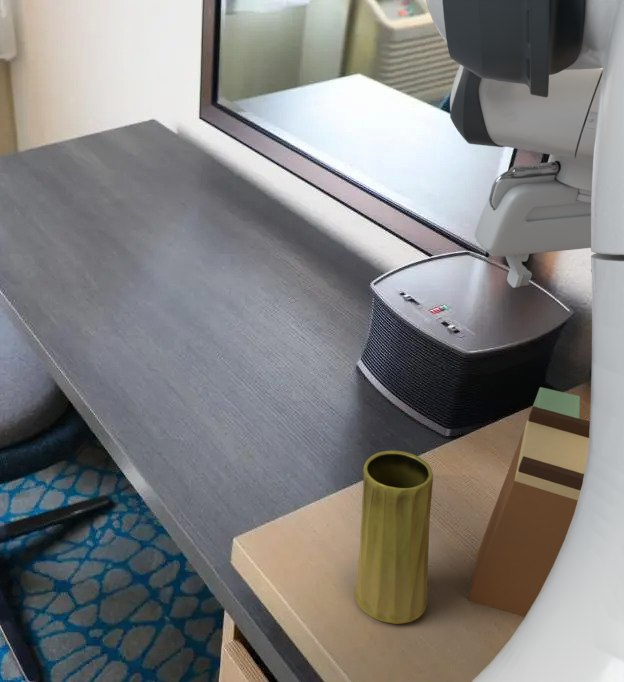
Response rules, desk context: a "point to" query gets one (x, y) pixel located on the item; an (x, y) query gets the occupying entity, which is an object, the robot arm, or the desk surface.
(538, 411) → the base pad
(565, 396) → the green pad
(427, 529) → the vase
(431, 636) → the desk surface
